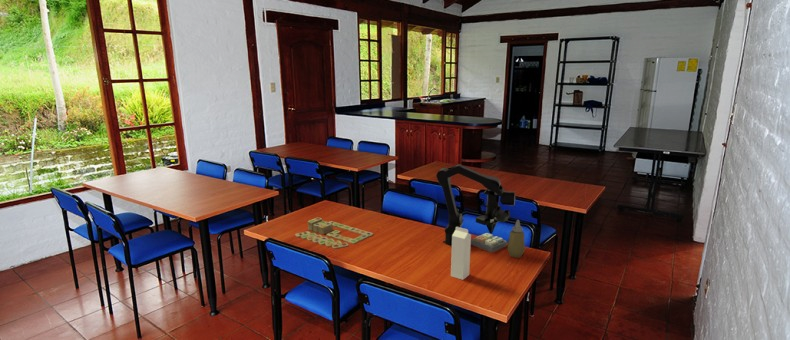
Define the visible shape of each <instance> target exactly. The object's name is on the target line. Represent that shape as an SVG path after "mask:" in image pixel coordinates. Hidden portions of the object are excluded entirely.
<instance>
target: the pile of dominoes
mask: <svg viewBox="0 0 790 340" xmlns="http://www.w3.org/2000/svg"><path fill="white" fill-rule="evenodd" d="M333 228H338V229H341V230H345V231H349V232H352V233H354V234H355V233H356V234H358V235H359V236H357V237H354V238H351V237H349V236H348V237H346V235H345V236H344V235H341V230H337V229H335V230H334V229H333ZM307 230H308V231H303V232H297V233H295V234H294V236H295V237H296V238H301V239H302V240H307V241H309V242H312V243H314V244H319V245H320V246H323V245H325V246H326V247H331V248H333V249H334V250H338V249H342V248H346V247H349V244H351V245H355V244H357V243H359V242H361V241H363V240H366V239H367V238H369V237H373V236H374V233H373V232H370V231H366V230H363V229H360V228H357V227H351V226H349V225H345V224H341V223H339V222H336V221H332V220H331V221H330V220H329V221H327V220H326V221H325V220H323V219H322V217H315V218H313V219H309V220H308V221H307ZM317 233H318V234H317ZM323 235H326V236H323ZM335 239H336V240H335ZM342 241H343V242H342ZM348 243H349V244H348Z"/></svg>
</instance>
